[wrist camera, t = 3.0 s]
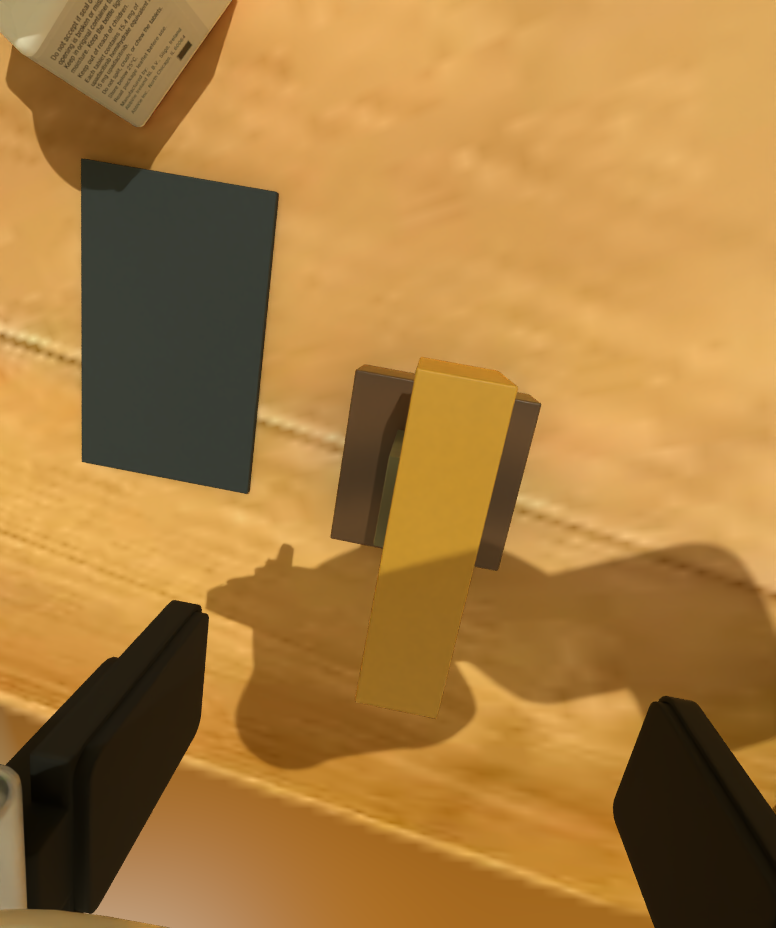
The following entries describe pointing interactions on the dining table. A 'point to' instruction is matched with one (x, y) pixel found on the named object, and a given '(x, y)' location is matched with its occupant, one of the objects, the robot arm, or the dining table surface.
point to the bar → (433, 532)
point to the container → (112, 45)
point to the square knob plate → (378, 452)
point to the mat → (173, 322)
